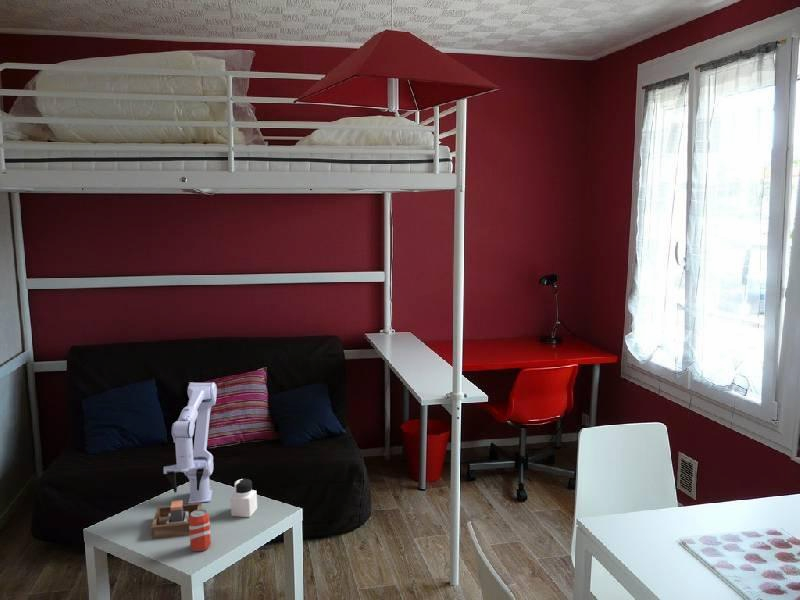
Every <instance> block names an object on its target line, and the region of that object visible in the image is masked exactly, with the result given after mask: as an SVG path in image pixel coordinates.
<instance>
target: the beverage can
mask: <svg viewBox="0 0 800 600" xmlns="http://www.w3.org/2000/svg"><path fill="white" fill-rule="evenodd" d="M190 515H191V516H190V518H189V530H190V535H189V542H190V543H189V545H190V549H191V550H192V551H195V552H203V551H205V550H207V549H208V548H210V547H211V544H212V540H211V526H210V525H211V523H210V522H211V521H210V515H209V513H208V511H207V510H206V509H203V508H202V509H199V510H195V511H193V512H191V514H190ZM202 550H203V551H202Z"/></svg>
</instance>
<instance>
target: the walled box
mask: <svg viewBox="0 0 800 600" xmlns="http://www.w3.org/2000/svg"><path fill="white" fill-rule="evenodd" d="M199 509H203V507H202V502H200V503H190V504H189V503H187V504H183V513H184V521H180V522H171V505H165V506H158V507H157V508H156V511H155V514H154V517H153V521H152V523H151V526H150V527H151V528H150V530H151V539H153V540H154V538H155V539H162V538H163V539H164V538H173V537H180V536H188V535H189V536H190V530H189V518H190V516H191V515H190V514H191V512H193V511H195V510H199Z"/></svg>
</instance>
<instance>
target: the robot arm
mask: <svg viewBox="0 0 800 600" xmlns="http://www.w3.org/2000/svg"><path fill="white" fill-rule="evenodd" d="M217 394H218V387H217V384H216V383H215V382H213V381H212V382H190V383H189V384H188V386H187V396H188V399H189V400H188V402H187V406H185V407H183V409H181V412H180V415H179V417H178V418H177V420H176V421H175V422H173V423H172V426H171V436H172V439H173V443H175V444H174V445H175V446H174V447H175V459H176V460H175V461H176V464H172V465H167V466H163V474H164V475H166V479H168V482H170V485H171V486H172V490H173V493H177V491H178V484H177V473H180V472H181V473H184V475H185V476H186V477H187V479H188V481H189V494H190V495H189V497H188V498H189V499H188V504H194V503H208V502H210V503H211V501H212V496H213V489H211V487H210V485H211V484H210V482H211V481H210V476H211V475H212V474H213V472H214V456H213V454H212V453H211V452H210V451H208V450H207V447H208V439H209V437H208V436H209V428H210V416H211V411H212V407H213V406H215V405H216V402H217ZM193 437H194V441H193ZM193 442H194V443H193Z"/></svg>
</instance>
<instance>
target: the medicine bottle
mask: <svg viewBox="0 0 800 600" xmlns="http://www.w3.org/2000/svg"><path fill="white" fill-rule="evenodd" d="M257 509H258V495H257V490H254V489H253V481H252V480H251V479H249V478H241V479H238V480H236V481H234V493H233V494H232V495H231V497H230V512H231V517H241V518H251V517H252V515H253V514H255V512H256V510H257Z"/></svg>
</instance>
